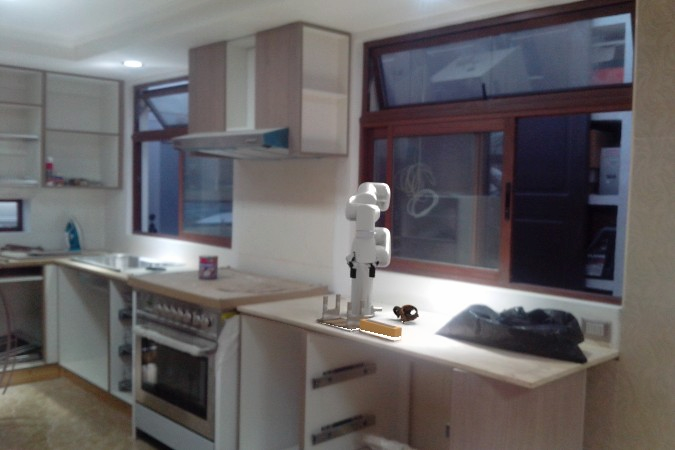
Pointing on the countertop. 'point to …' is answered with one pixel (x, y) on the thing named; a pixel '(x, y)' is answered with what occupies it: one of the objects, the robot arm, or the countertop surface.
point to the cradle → (333, 314)
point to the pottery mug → (405, 312)
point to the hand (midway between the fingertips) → (362, 277)
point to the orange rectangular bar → (380, 328)
